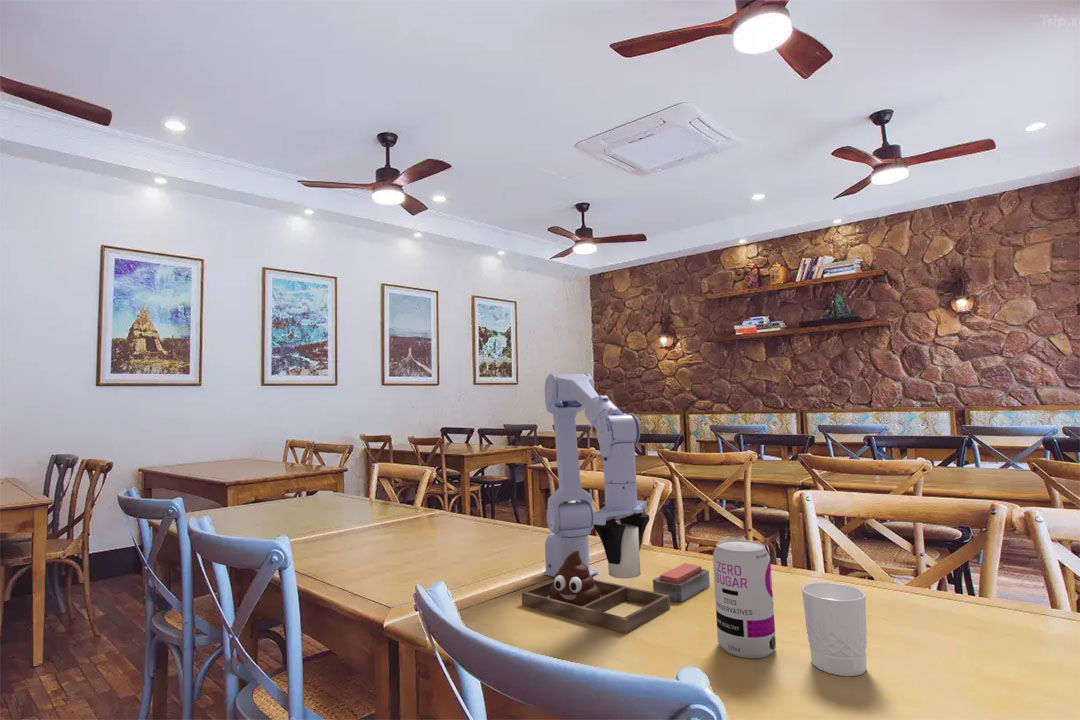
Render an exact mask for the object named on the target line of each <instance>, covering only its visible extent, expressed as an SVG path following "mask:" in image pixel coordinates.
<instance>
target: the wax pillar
mask: <svg viewBox="0 0 1080 720" xmlns="http://www.w3.org/2000/svg"><path fill="white" fill-rule="evenodd" d="M620 524H621V523H620ZM621 525H626V527H625V530H624V533H623V537H622V543H621V560H620V564H618V565H616V564H611V563H608V562H607V567H608V575H609V576H610V577H611V578H616V579H634V578H638V577H640V576H641V575H642V574H641V558H640V557H641V556H640V553H641V552H640V553H639V532H638V527H637V526H634V525H627V524H621Z"/></svg>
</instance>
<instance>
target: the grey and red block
mask: <svg viewBox="0 0 1080 720" xmlns="http://www.w3.org/2000/svg"><path fill="white" fill-rule="evenodd" d="M701 571H702V572H700V573H699V574H697V575H695V576H693V577H691V578H689V579H687V580H685V581H683V582H682V583H680V584H675V583H670V582H665V581H660V576H658V577H655V578H654V579H652V588H653V589H652V590H653V591H652V592H655V593H660V594H664V595H669V596H670V602H676V603H678V602H680V603H683V602H685V601H686V600H688V599H690V598H692V597H694V596H696V595H697V594H698V593H700V592H702V591H704V590H706V589H707V588H709V587H710V586H711V585H710V584H711V583H710V571H709V570H707V569H704V568H701Z"/></svg>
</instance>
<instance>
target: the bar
mask: <svg viewBox="0 0 1080 720" xmlns="http://www.w3.org/2000/svg"><path fill="white" fill-rule="evenodd" d="M701 569H702V566H701V565H698V564H697V565H696V564H692V563H691V564H690V563H683V564H680V565H678V566H676V567H674V568H672V569H670V570H668V571H666V572H664V573H662V574H660V575H659V577H660V581H665V582H670V583H675V584H680V583H682V582H683V581H685V580H687V579H689V578H691V577H693V576H695V575H697V574H699V573H700V572H702V571H701Z"/></svg>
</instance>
